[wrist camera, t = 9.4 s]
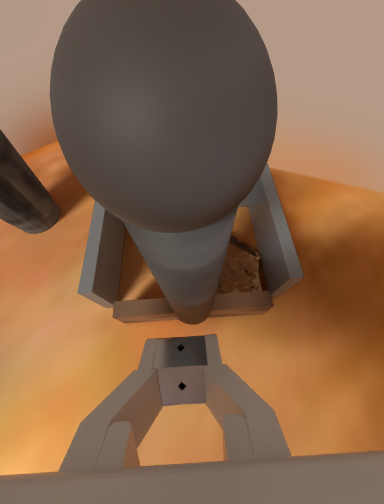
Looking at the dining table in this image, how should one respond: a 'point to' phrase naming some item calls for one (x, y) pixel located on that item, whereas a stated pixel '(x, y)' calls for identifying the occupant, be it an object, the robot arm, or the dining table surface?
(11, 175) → the beverage cup
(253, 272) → the shard
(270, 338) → the dining table surface
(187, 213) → the ball-topped joystick
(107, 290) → the box
